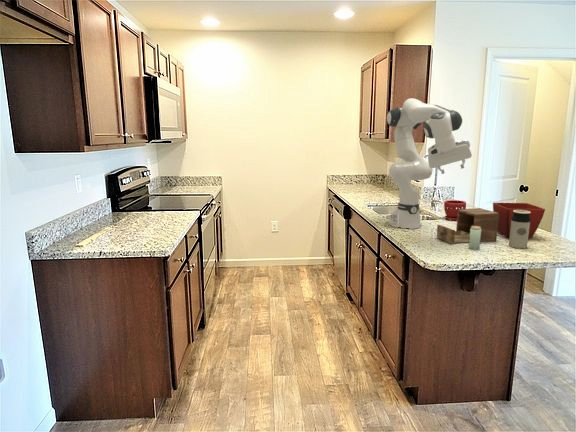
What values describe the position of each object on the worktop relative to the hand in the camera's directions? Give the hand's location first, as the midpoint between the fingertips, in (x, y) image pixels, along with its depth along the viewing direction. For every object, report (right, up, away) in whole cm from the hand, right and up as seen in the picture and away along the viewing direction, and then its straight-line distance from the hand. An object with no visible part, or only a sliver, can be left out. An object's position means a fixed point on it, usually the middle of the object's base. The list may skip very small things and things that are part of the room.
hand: (452, 170), depth 201 cm
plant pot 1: (+25, -25, +59) cm, 69 cm away
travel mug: (+32, -38, -2) cm, 50 cm away
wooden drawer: (+5, -35, +10) cm, 37 cm away
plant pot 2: (+42, -34, +19) cm, 57 cm away
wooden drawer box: (+17, -35, +13) cm, 41 cm away
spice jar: (+9, -39, -4) cm, 40 cm away
